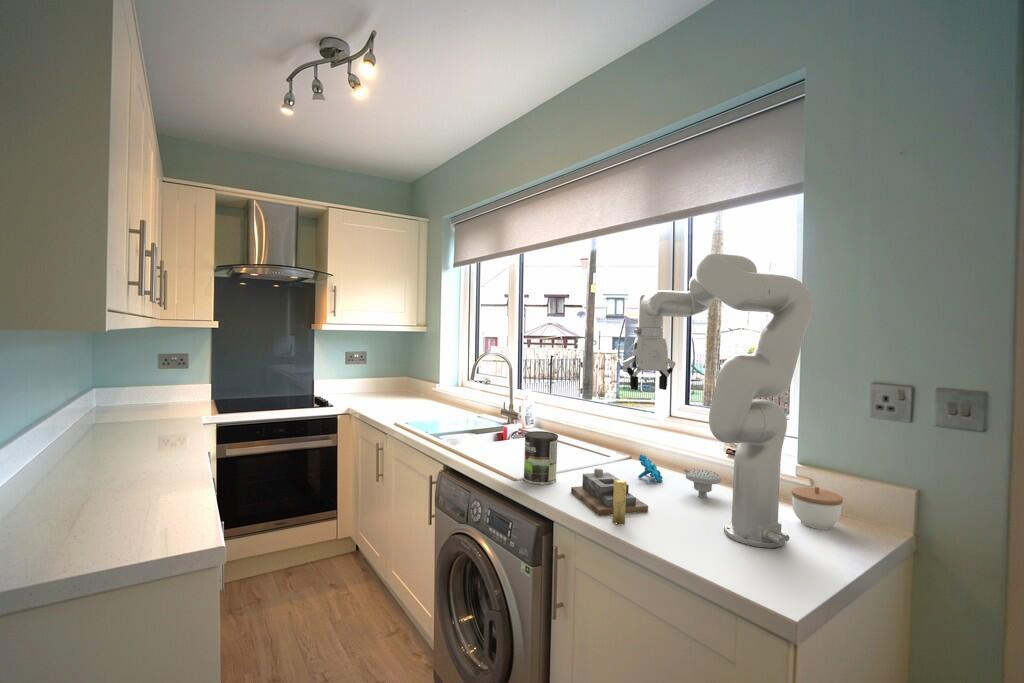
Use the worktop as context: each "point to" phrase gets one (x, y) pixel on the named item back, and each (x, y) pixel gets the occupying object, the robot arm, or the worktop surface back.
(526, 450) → the coffee can
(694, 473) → the showerhead
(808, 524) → the lidded jar
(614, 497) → the brass pin
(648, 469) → the gear
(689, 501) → the worktop surface
